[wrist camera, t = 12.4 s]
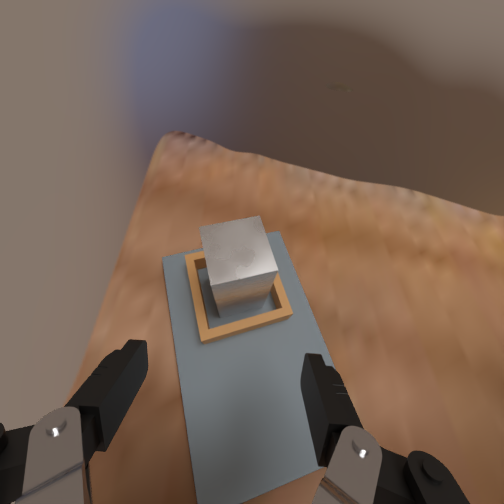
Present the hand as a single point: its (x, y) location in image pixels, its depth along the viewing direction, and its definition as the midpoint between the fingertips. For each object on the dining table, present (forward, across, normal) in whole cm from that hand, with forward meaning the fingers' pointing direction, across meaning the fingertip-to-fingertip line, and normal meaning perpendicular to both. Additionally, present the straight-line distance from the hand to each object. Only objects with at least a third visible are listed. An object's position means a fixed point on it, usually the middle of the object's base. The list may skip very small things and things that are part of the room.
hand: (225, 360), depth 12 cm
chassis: (+10, -2, +7) cm, 12 cm away
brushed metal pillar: (+13, 0, +3) cm, 13 cm away
